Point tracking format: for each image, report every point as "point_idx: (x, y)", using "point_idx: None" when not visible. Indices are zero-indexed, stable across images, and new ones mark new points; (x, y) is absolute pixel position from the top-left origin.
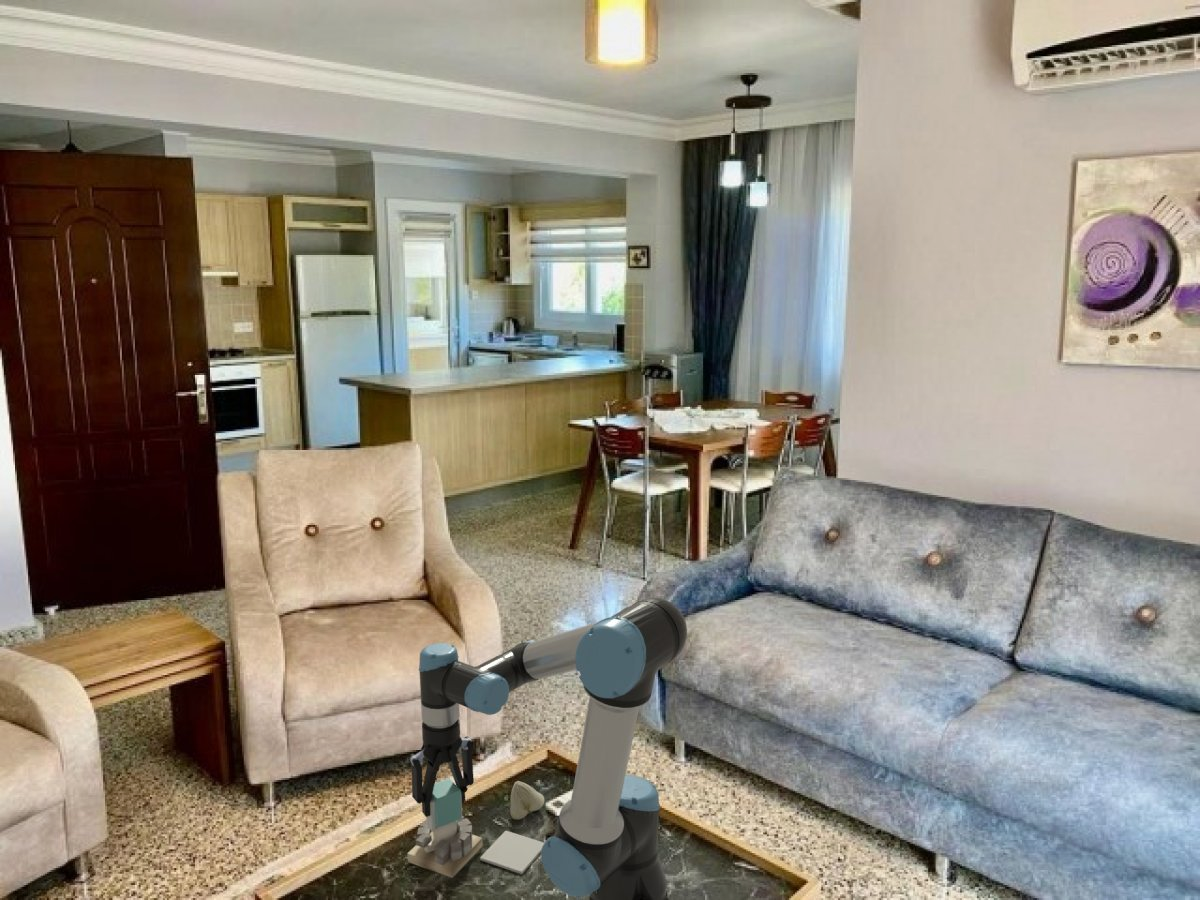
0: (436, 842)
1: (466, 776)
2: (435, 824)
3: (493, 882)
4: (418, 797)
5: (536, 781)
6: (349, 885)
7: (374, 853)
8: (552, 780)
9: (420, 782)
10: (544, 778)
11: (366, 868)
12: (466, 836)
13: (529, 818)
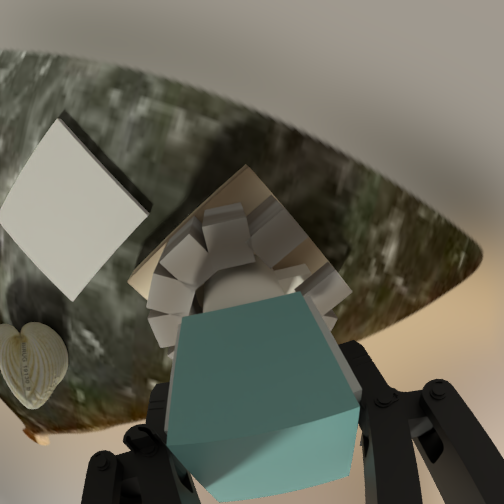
0: (278, 281)
1: (128, 495)
2: None
3: (137, 104)
4: (456, 405)
5: None
6: (450, 239)
7: (384, 321)
8: None
9: (489, 482)
10: None
11: (413, 280)
12: (175, 252)
13: None
